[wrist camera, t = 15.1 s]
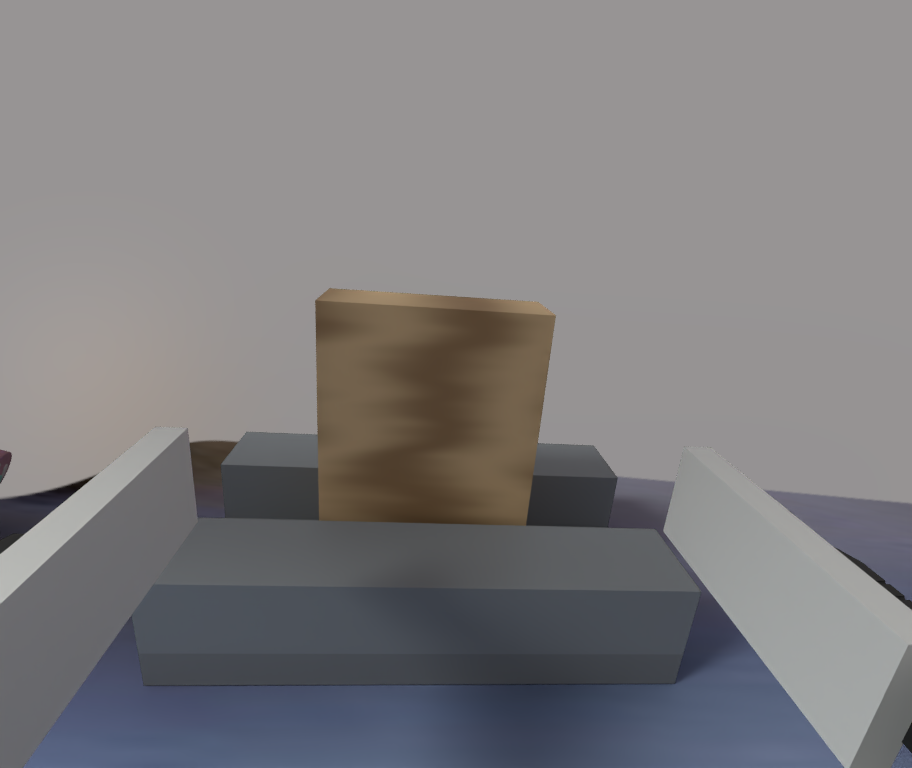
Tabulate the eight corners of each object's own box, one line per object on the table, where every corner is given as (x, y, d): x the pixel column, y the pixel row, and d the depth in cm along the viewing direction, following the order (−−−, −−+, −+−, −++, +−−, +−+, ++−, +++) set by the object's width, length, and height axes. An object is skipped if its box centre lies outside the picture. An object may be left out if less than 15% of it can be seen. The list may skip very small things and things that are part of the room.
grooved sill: (143, 685, 18) (126, 584, 16) (251, 501, 29) (246, 431, 28) (674, 683, 20) (701, 591, 18) (581, 510, 31) (593, 445, 29)
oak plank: (320, 569, 22) (315, 300, 18) (331, 528, 25) (329, 288, 21) (519, 573, 23) (555, 315, 19) (508, 533, 26) (538, 302, 22)
